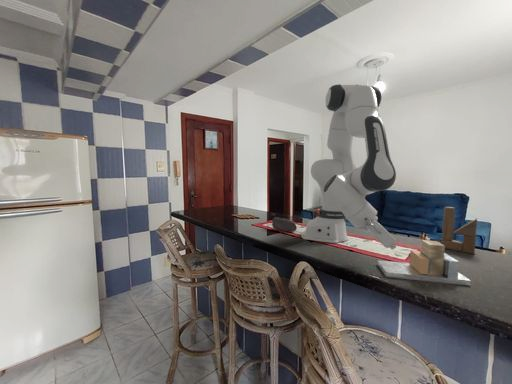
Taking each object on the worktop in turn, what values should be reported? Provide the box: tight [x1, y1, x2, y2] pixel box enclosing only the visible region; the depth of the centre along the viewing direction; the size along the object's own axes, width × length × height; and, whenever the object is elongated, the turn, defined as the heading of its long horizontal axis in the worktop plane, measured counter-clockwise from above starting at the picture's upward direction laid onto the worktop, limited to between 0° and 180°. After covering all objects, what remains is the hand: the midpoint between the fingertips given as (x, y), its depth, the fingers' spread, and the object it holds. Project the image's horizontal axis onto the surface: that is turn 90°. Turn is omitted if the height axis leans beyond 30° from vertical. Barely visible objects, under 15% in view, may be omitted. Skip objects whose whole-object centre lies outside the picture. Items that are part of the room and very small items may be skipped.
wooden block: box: [440, 206, 478, 255], centre depth 96 cm, size 4×11×18 cm, turn 44°
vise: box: [377, 252, 472, 286], centre depth 73 cm, size 22×10×6 cm, turn 76°
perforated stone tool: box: [271, 216, 298, 233], centre depth 128 cm, size 15×5×7 cm, turn 50°
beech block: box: [420, 239, 446, 275], centre depth 72 cm, size 4×5×9 cm
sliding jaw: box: [409, 249, 431, 274], centre depth 73 cm, size 3×8×5 cm, turn 165°
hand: (393, 247), depth 75 cm, fingers closed
